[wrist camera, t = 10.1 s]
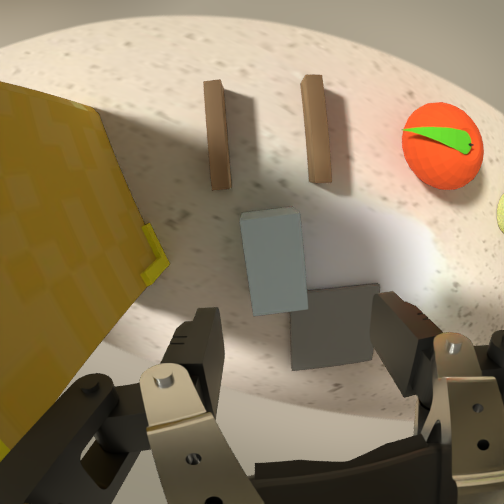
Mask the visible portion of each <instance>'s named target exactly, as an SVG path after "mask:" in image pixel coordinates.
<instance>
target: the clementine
mask: <svg viewBox="0 0 504 504" xmlns="http://www.w3.org/2000/svg"><path fill="white" fill-rule="evenodd" d="M402 148H403V152H404V156H405V159H406V161H407V163H408V165H409V167H410V168H411V169H412V171H413V172H414V173H415V174H416V176H417V177H418V178H419V179H421V180H422V181H423V182H424V183H426V184H428V185H430V186H433V187H435V188H438V189H443V190H452V189H457V188H461V187H463V186H464V185H466V184H468V183H469V182H470V181H471V180H473V179H474V177H475V176H476V175H477V173H478V171H479V169H480V167H481V164H482V161H483V154H484V149H483V141H482V137H481V134H480V132H479V129H478V128H477V126H476V125H475V123H474V122H473V120H472V119H471V118H470V117H469V116H468V115H467V114H466V113H465V112H464V111H463V110H461V109H459V108H458V107H456V106H453V105H451V104H447V103H443V102H438V103H428V104H426V105H424V106H422V107H420V108H418V109H417V110H415V111H414V112H413V113H412V114H411V116H410V117H409V118H408V120H407V123H406V125H405V127H404V129H403V136H402Z"/></svg>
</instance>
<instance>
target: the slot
mask: <svg viewBox="0 0 504 504" xmlns="http://www.w3.org/2000/svg"><path fill="white" fill-rule="evenodd" d="M203 83H204V99H205V113H206V127H207V140H208V152H209V164H210V175H211V186H212V191H213V190H223V189H230V188H231V187H232V184H231V173H230V161H229V149H228V137H227V124H226V112H225V99H224V88H223V85H222V83H221V80H212V81H204V82H203ZM300 85H301V94H302V103H303V113H304V124H305V135H306V147H307V160H308V174H309V182H312V183H331V182H332V175H331V160H330V146H329V134H328V123H327V113H326V104H325V95H324V87H323V79H322V75H305V77H304V78H303V80H302V82H301V84H300Z"/></svg>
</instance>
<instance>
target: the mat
mask: <svg viewBox="0 0 504 504" xmlns="http://www.w3.org/2000/svg"><path fill="white" fill-rule="evenodd" d="M376 293H380V285H379V284H378V283H375V284H366V285H357V286H348V287H338V288H328V289H318V290H307V299H308V309H306V310H299V311H292V312H290V324H291V368H292V371H297V370H307V369H315V368H323V367H331V366H338V365H345V364H351V363H358V362H364V361H369V360H372V355H373V348H374V347H373V345H372V343H371V340H370V322H371V311H372V300H373V296H374V294H376Z"/></svg>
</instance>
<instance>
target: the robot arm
mask: <svg viewBox="0 0 504 504" xmlns="http://www.w3.org/2000/svg"><path fill="white" fill-rule="evenodd" d="M370 340H371V343H372V345H373V347H374V349H375V350H376V352H377V353H378V355H379V357H380V358H381V360H382V362H383V363H384V365H385V367H386V368H387V370H388V372H389V373H390V375H391V377H392V378H393V380H394V382H395V383H396V385H397V387H398V388H399V390H400V392H401V394H402V395H403V397H404V398H405V397H409V396H412V395H417V396H418V398H417V401H416V404H415V418H414V435H413V436H412V437H408V438H406V439H402V440H398V441H395V442H391V443H387V444H385V445H383V446H380V447H378V448H376V449H374V450H372V451H370V452H368V453H366V454H364V455H361V456H359V457H357V458H355V459H352V460H350V461H346V462H329V461H309V460H293V461H282V462H268V463H255V475H251V476H247V475H246V474H245V472H244V470H243V469H242V467H241V465H240V463H239V462H238V460H237V459H236V457H235V455H234V453H233V452H232V450H231V448H230V447H229V445H228V443H227V441H226V439H225V437H224V436H223V434H222V432H221V430H220V428H219V426H218V424H217V423H216V413H217V406H218V400H219V393H220V386H221V379H222V372H223V365H224V358H225V350H224V340H223V334H222V327H221V320H220V313H219V309H218V307H214V308H198V309H197V312H196V314H195V317H194V320H193V321H185V322H184V323H182V324H181V325H180V326H179V327H178V328H176V330H175V333H174V335H173V338H172V339H171V341H170V345H169V346H168V348H167V350H166V352H165V354H164V357H163V359H162V361H161V363H160V364H158V365H155V366H153V367H151V368H149V369H147V370H146V371H145V372H144V373H143V374H142V375H141V377H140V383H137V384H131V385H125V386H117V387H115V386H114V384H113V381H112V379H111V378H110V377H109V376H107V375H105V374H100V373H96V374H89V375H85V376H83V377H81V378H79V379H78V380H76V381H75V382H74V383H73V384H72V385H71V386H70V387H69V388H68V389H67V391H65V392H64V393H63V394H62V395H61V397H60V398H59V399H58V400H57V401H56V402H55V403H54V404H53V405H52V406H51V407H50V408H49V409H48V410H47V411H46V412H45V413H44V414H43V416H42V417H41V418H40V419H39V420H38V421H37V422H36V423H35V424H34V425H33V426H32V427H31V428H30V430H29V431H28V432H27V433H26V434H25V435H24V436H23V437H22V438H21V439H20V440H19V442H18V443H17V444H16V445H15V446H14V447H13V448H12V449H11V450H10V452H9V453H8V454H7V455H6V456H5V457H4V458H3V459H2V461H1V462H0V504H111V503H112V502H113V500H114V498H115V496H116V495H117V493H118V491H119V489H120V487H121V486H122V484H123V482H124V480H125V478H126V477H127V475H128V473H129V472H130V470H131V468H132V466H133V465H134V463H135V461H136V459H137V457H138V456H139V454H140V452H141V451H143V450H151V451H152V455H153V458H154V462H155V465H156V469H157V472H158V475H159V479H160V482H161V485H162V488H163V492H164V494H165V498H166V500H167V504H504V330H499V331H496V332H494V333H493V334H492V337H491V340H490V343H489V345H484V346H473V344H472V342H471V340H470V339H469V338H467V337H466V336H464V335H461V334H458V333H453V332H446V333H443V332H442V331H441V330H440V329H439V328H438V327H437V326H436V325H435V324H434V323H433V322H432V321H431V320H430V319H428V317H427V316H426V315H425V314H423V312H422V311H421V310H419V309H418V308H417V307H416V306H414V305H412V304H410V303H408V302H404V301H403V300H402V299H401V298H400V297H399V296H398V295H397V294H396V293H395V292H393V291H391V292H384V293H376V294H374V296H373V300H372V311H371V322H370ZM93 436H94V437H95V439H96V440H95V441H94V443H93V444H92V446H91V447H90V448H89V450H88V451H87V453H86V454H85V456H84V457H83V458H82V460H81V461H80V457H81V453H82V451H83V450H84V448H85V447H86V445H87V444H88V442H89V441H90V440H91V439H92V437H93Z"/></svg>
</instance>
